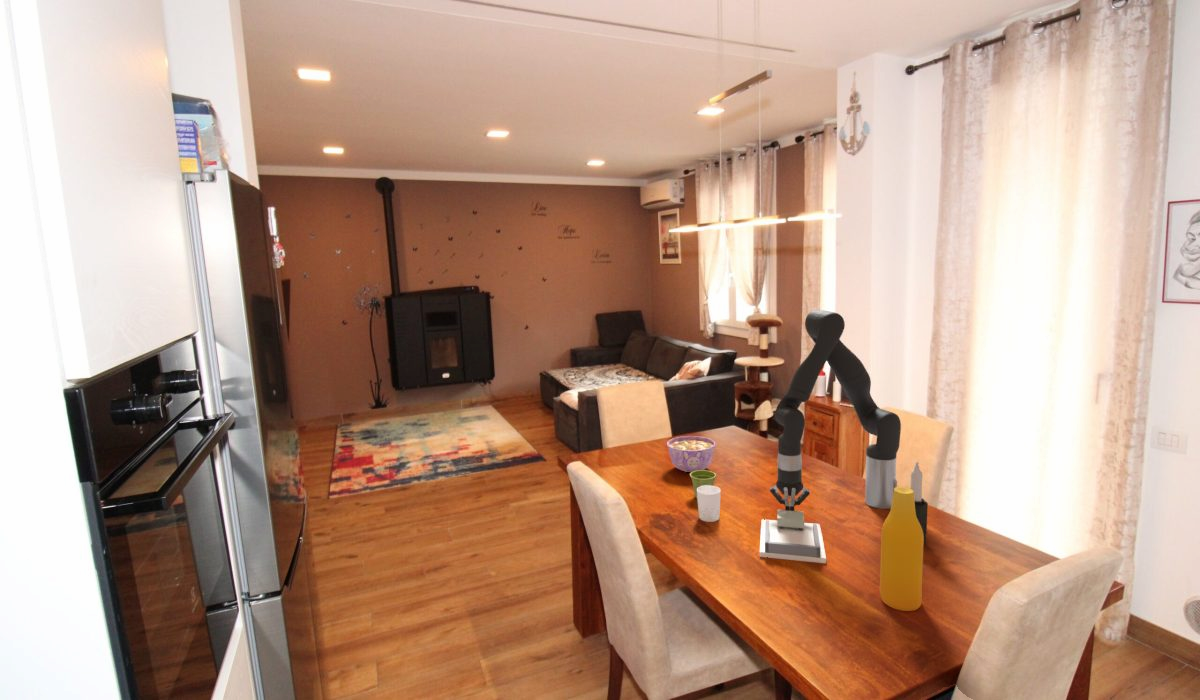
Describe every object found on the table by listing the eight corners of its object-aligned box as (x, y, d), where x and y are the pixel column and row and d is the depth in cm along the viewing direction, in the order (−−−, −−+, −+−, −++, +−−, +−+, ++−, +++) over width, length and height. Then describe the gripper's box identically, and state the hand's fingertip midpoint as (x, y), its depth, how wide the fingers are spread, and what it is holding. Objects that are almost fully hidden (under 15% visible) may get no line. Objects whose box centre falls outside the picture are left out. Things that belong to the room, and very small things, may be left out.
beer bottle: (903, 616, 135) (907, 501, 131) (871, 596, 143) (873, 487, 139) (930, 605, 138) (934, 492, 134) (897, 587, 147) (900, 480, 143)
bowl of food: (695, 482, 223) (694, 454, 221) (657, 470, 238) (656, 443, 236) (725, 468, 236) (725, 442, 234) (688, 458, 251) (687, 433, 249)
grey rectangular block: (803, 522, 185) (802, 511, 185) (804, 531, 176) (804, 520, 176) (777, 520, 188) (777, 509, 188) (777, 529, 178) (777, 518, 178)
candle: (917, 548, 166) (919, 466, 162) (900, 540, 170) (903, 461, 166) (927, 543, 168) (931, 462, 164) (911, 536, 172) (914, 457, 169)
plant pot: (690, 491, 214) (689, 469, 213) (715, 492, 213) (715, 469, 212) (690, 501, 205) (690, 479, 204) (717, 502, 204) (716, 479, 202)
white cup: (694, 513, 195) (694, 486, 194) (717, 511, 196) (716, 484, 194) (700, 523, 188) (700, 495, 186) (724, 521, 188) (723, 493, 187)
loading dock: (819, 526, 184) (819, 510, 183) (825, 566, 160) (826, 548, 159) (761, 522, 189) (761, 506, 188) (759, 559, 165) (759, 542, 164)
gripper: (810, 463, 187) (810, 512, 189) (768, 460, 191) (769, 509, 193) (811, 471, 180) (811, 522, 182) (768, 468, 184) (768, 519, 186)
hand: (789, 515), depth 188 cm, fingers closed
